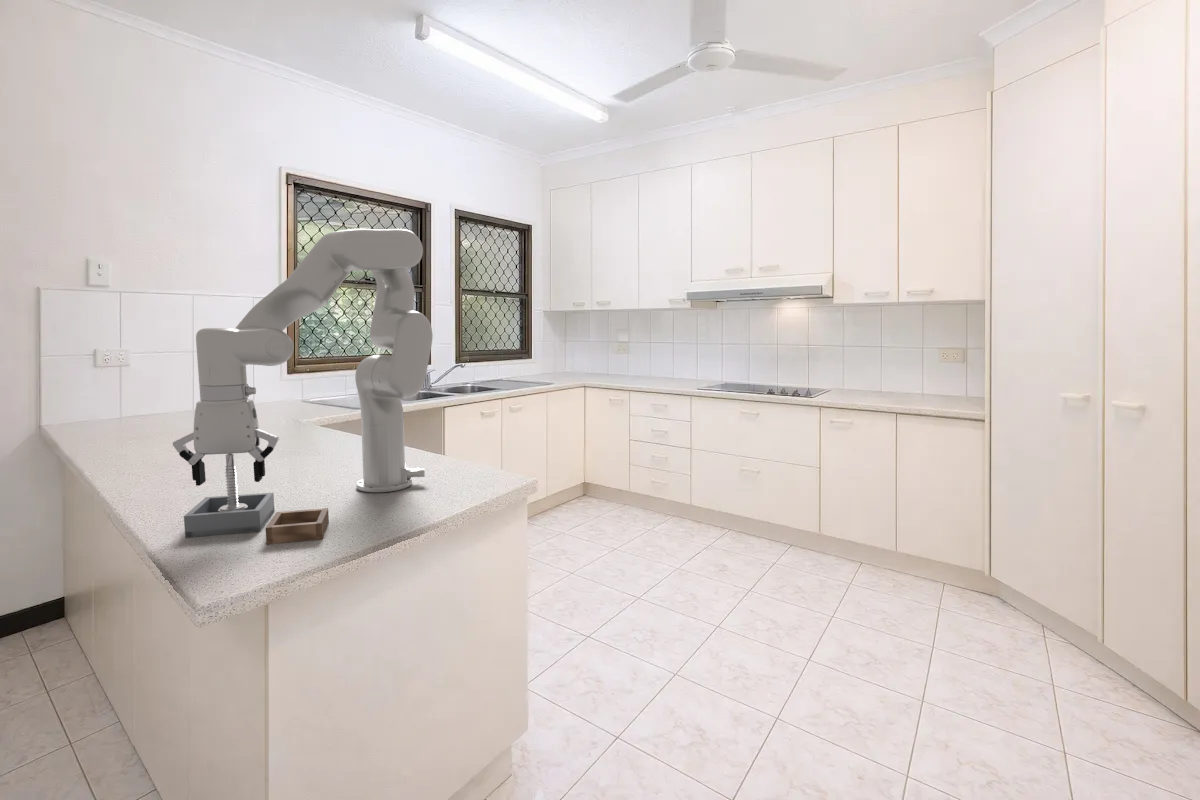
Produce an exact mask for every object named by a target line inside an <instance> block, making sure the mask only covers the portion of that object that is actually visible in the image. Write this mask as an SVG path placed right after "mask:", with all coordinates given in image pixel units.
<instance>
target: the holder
mask: <svg viewBox="0 0 1200 800" xmlns="http://www.w3.org/2000/svg"><path fill="white" fill-rule="evenodd" d="M272 516H273V517H271V518H270V521H269V522H268V524H267V525H266V526H265V542H266V545H273V544H282V543H283V544H286V543H292V542H293V543H294V542H303V541H305V542H306V541H315V540H316V541H317V540H323V539H324V536H325V534H326V531H327V528H328V526H329V523H330V521H329V520H330V519H329V516H330V515H329V507H326V508H312V509H299V510H287V511H276V513H275V512H274V515H272Z"/></svg>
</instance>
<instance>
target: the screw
mask: <svg viewBox="0 0 1200 800" xmlns="http://www.w3.org/2000/svg"><path fill="white" fill-rule="evenodd" d="M236 468H237V467H236V466H235V456H234V453H233V454H225V477H226V478H225V480H226V481H225V483H226V484H225V486H226V496H227V497H228V499H227V500H228V502H227V503H228V505H224V506H222V507H220V508H219V509H218V512H226V511H240V510H246V509H247V508H248V506H247V505H246V504H244V503H238V502H237V501H238V499H237V498H238V496H237V495H239V493H238V484H237V483H238V481H237V480H238V479H237V477H238V476H237V472H236V471H237V469H236Z"/></svg>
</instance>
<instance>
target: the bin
mask: <svg viewBox="0 0 1200 800" xmlns="http://www.w3.org/2000/svg"><path fill="white" fill-rule="evenodd" d="M227 496H228V495H221V496H220V495H219V496H218V495H217V496H206V497H204V498H203V499H202V500H200V502H198V503H197V504H196V505H195V506H194V507H193V508H192V509H191V510H189V511H188V512H187V513H186V514H184V515H183V523H184V524H183V525H184V534H185V536H184V537H185V538H186V539H187V538H194V537H207V536H208V537H209V536H221V535H232V534H242V533H254V532H255V533H256V532H261V531H263V529H264V527H266V526H265V525H266V524H267V523H268V521H269V519H271V518H272V516H273V514H275V498H274V497H275V495H274V492H263V493H262V492H261V493H250V494H249V493H248V494H238V495H237V496H238V498H237V499H238V501H237V502H238V503H244V504H246V505H247V506H248V508H247V509H246V510H240V511H226V512H218V509H219V508H220V507H222V506H224V505H228V503H227V502H228V500H227V499H228V497H227Z"/></svg>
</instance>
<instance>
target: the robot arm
mask: <svg viewBox="0 0 1200 800" xmlns="http://www.w3.org/2000/svg"><path fill="white" fill-rule="evenodd" d="M423 254H424V247H423V244H422V241H421V240H420V238H419V237H418V236H417V234H415V233H414V232H413V231H411V230H409V229H404V228H400V229H399V228H395V229H393V228H392V229H391V228H390V229H389V228H388V229H386V228H383V229H382V228H381V229H378V228H377V229H373V228H372V229H370V228H368V229H367V228H352V229H342V230H337V231H331V232H327V233H326V234H324V235H323V236H321V238H320V239H318V241H316V243H315V245H313V247H312V248H311V249H310V251H309V252H307V254H306V255H305V257H304V258H303V259H302V260H301V261H300V263H298V265H297V266H296V268H295V269H294V270H293V271H292V273H290V275H288V277H287V278H286V279H285V280H284V281H283V282H282V283H280V284H279V285H278V286H276V287H275V288H274V289H272V291H271V292H269V293H268V294H267V295H265V296H264V297H263V298H262V299H260V301H258V302H257V303H256V304H255V305H254V306H253V307H252V308H251V309H250V310H249V311H248V312H247V313H246V314H245V316H244V317H243V318H242V319H241V321H240V322H239V323H238V324H237V325H236V326H235V328H225V327H210V328H209V327H206V328H205V327H204V328H201V329H199V330H198V331H197V332H196V334H195V345H196V346H195V347H196V358H197V360H196V361H197V373H198V384H199V385H198V386H199V399H200V400H199V401H197V402H196V404H195V409H194V418H193V431H192V432H190V433H189V434H186V435H185V436H183V437H181V438H179V439H176V440H174V441H173V442H172V447H174V449H175V450H176V452H177V453H178V455H179V457H180V458H182V459H183V460H185V461H187V463H188V465H190V466H191V477H192V480H193V481H195V486H196V487H198V486H201V485H203V484H204V483H206V480H207V479H206V466H205V465H206V464H205V462H204V461H203V458H204V457H205V456H206V455H211V456H212V455H227V454H233V455H234V454H245V453H246V454H247V453H248V454H249V455H250V456H251V457H253V458H254V460H255V461H254V462H253V477H254V478H253V480H254V482H255V483H260V481H262V479H263V477H265V476H266V464H265V459H266V458H267V457H268V456H269V455H270V454H271V453H272V452H274V450H275V447H276V446H277V444H278V442H279V440H280V437H279V436H277V435H275V434H272V433H270V432H267V431H265V430H262V429H260V427H259V420H258V414H257V410H256V405H255V401H254V399H253V398H252V399H251V398H249V397H250V396H251V395H256V393H257V388H256V387H251V386H249V384H248V382H247V381H248V379H247V365H250V366H251V365H254V366H263V367H274V366H279V365H282V364H284V363H286V362H287V361H289V359H290V358H291V357H292V355H293V353H294V349H295V348H294V346H295V345H294V342H293V340H292V338H291V337H290V336H289V335H288V334H287V332H284V330H285V329H287V328H288V327H289V326H290V325H292V324H293V323H294V322H296V321H297V320H299V319H301V318H303V317H305V316H308V315H310V314H312V313H315V312H316V311H319V309H322V308H323V307H325V305H326V304H327V303H328V302H329V301H330V299H331V298H332V297H333V296H334V294H335V293H336V291H337V290H338V289H339V287H340V286H341V285H342V283H343V282H344V281H345V280H346V278H347V277H348V275H349V274H350V273H351V272H353V271H354V272H355V271H356V272H357V271H370V272H371V274H372V276H373V277H374V279H375V282H376V295H375V296H376V297H375V301H374V308H373V313H372V316H371V317H372V318H371V322H370V329H369V338H370V341H371V343H372V344H373V345H374V346H375V347H377V348H379V349H380V350H383V351H384V350H385V351H392V353H391V355H385V354H374V355H369V356H367V357H365V358H364V359H362V360H361V361H360V362H359V363H358V365H357V366H356V370H355V378H354V379H355V385H356V386H355V387H356V389H357V390H356V391H357V393H358V399H359V406H360V419H361V420H360V421H361V425H360V426H361V450H362V451H361V452H362V474H363V477H362V479H360V480H359V479H358V480H357V481H356V489H357V490H358V491H361V492H365V493H390V492H395V491H400V490H404V489H407V488H409V487H411V486H412V484H413V478H424V477H426V476H425V475H426V474H425V468H419V467H417V468H410V467H407V463H406V460H405V459H406V457H405V455H406V454H405V425H404V424H405V418H404V417H405V416H404V415H405V413H404V408H403V407H404V406H403V403H402V401H401V399H410V398H412V397H413V398H414V397H415V396H416V395H417V394H419V393H420V391H421V390H422V388H423V386H424V384H425V381H426V377H427V372H428V367H429V361H430V356H431V350H432V344H433V328H432V324H431V322H430V320H429V319H428V318H427V316H425V314H423V313H422V312H419V311H417V310H413V308H414V302H415V285H414V283H413V279H412V277H411V275H410V273H409V272H408V270H407V269H410V268H413V267H415V266H417V265H418V264H419V263H420V262H421V260H422V257H423ZM261 440H265V441H267V442H268V444H267V445H266V447H265V449H262V448H260V447H259V446H260V445H261ZM189 442H193V449H194V451H195V453H194V452H193V451H191V450H189V449H188V448H187V445H186V444H188V443H189Z"/></svg>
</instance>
